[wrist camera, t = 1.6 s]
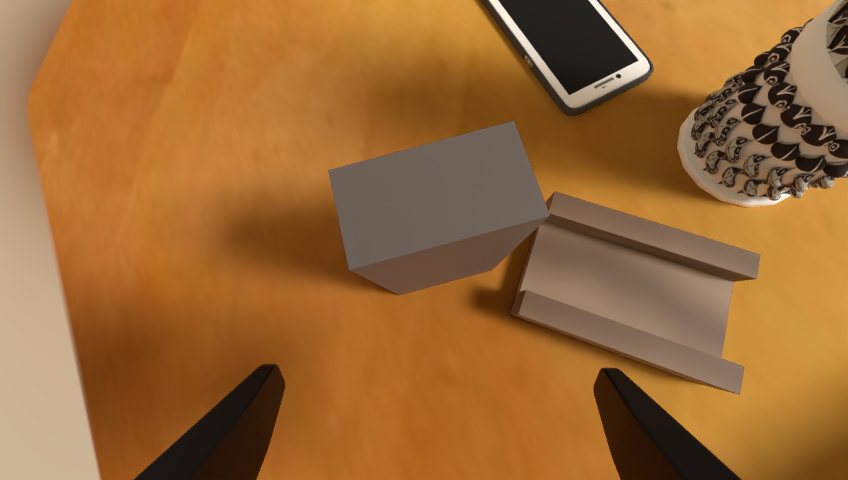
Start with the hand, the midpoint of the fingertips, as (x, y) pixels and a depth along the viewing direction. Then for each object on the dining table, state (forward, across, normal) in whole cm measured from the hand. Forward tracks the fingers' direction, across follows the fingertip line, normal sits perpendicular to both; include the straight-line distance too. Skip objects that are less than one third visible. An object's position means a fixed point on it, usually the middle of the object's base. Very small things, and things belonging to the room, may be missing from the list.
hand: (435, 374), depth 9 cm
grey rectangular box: (+12, 0, +5) cm, 13 cm away
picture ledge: (+11, -12, +6) cm, 17 cm away
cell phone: (+26, -10, -8) cm, 29 cm away
